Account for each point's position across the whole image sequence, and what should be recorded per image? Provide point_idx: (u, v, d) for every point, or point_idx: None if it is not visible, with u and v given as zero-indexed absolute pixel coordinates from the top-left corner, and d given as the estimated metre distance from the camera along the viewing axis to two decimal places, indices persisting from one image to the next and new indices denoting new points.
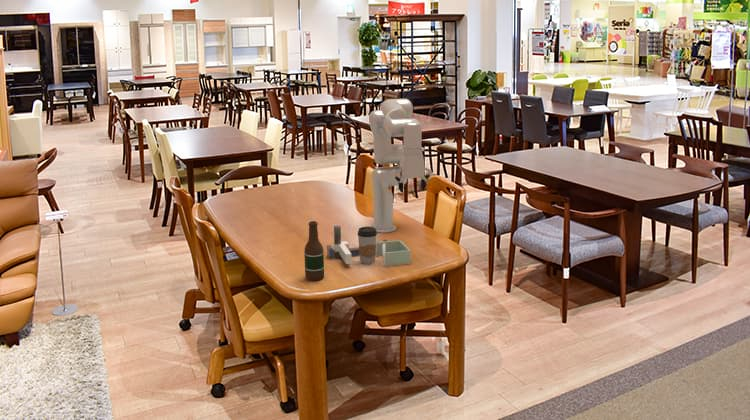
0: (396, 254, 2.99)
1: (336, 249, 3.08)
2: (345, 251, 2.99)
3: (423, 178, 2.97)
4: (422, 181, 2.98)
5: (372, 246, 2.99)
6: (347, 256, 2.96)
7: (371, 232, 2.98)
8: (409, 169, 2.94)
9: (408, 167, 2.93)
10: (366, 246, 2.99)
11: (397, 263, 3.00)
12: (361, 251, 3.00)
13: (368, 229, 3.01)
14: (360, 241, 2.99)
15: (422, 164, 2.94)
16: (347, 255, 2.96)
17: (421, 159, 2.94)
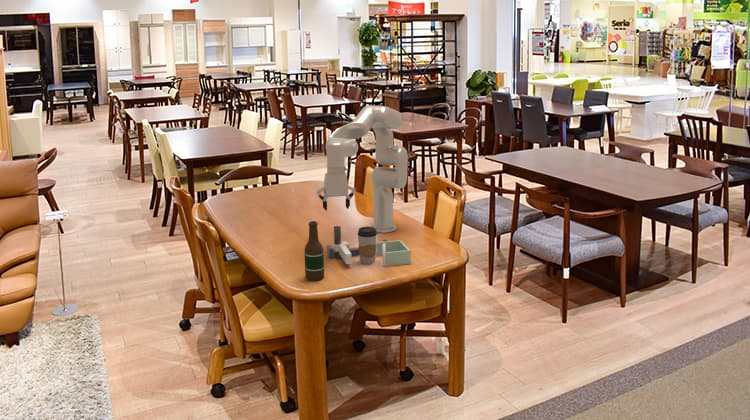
0: (396, 254, 2.99)
1: (336, 249, 3.08)
2: (345, 251, 2.99)
3: (347, 197, 3.03)
4: (346, 199, 3.04)
5: (372, 246, 2.99)
6: (347, 256, 2.96)
7: (371, 232, 2.98)
8: (332, 188, 2.99)
9: (331, 186, 2.99)
10: (366, 246, 2.99)
11: (397, 263, 3.00)
12: (361, 251, 3.00)
13: (368, 229, 3.01)
14: (360, 241, 2.99)
15: (345, 183, 3.00)
16: (347, 255, 2.96)
17: (344, 178, 3.00)
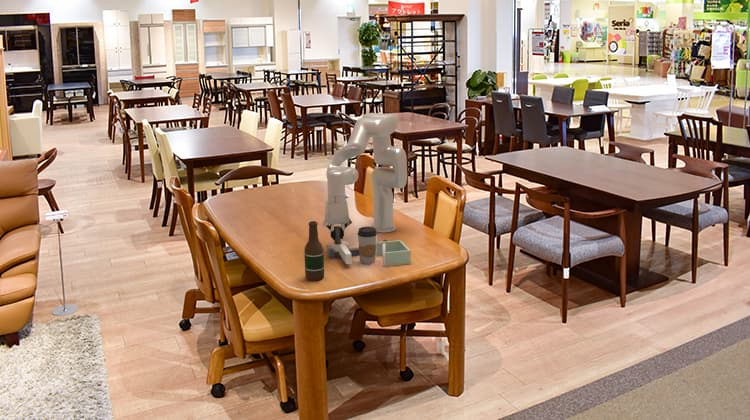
0: (396, 254, 2.99)
1: (336, 249, 3.08)
2: (345, 251, 2.99)
3: (342, 226, 3.06)
4: None
5: (372, 246, 2.99)
6: (347, 256, 2.96)
7: (371, 232, 2.98)
8: (333, 216, 3.03)
9: (332, 214, 3.02)
10: (366, 246, 2.99)
11: (397, 263, 3.00)
12: (361, 251, 3.00)
13: (368, 229, 3.01)
14: (360, 241, 2.99)
15: (346, 211, 3.04)
16: (347, 255, 2.96)
17: (344, 206, 3.03)
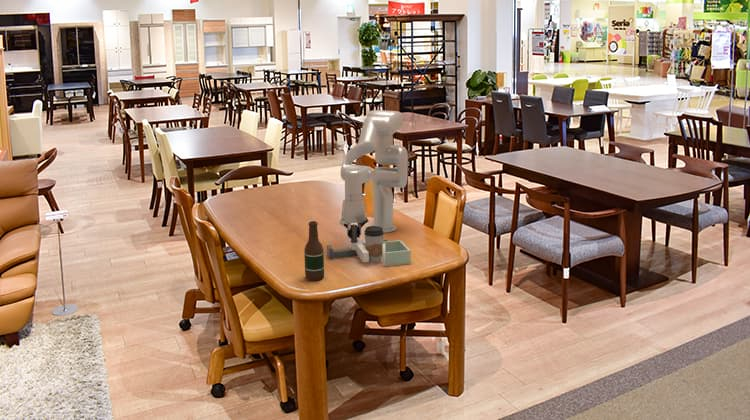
0: (396, 254, 2.99)
1: (353, 247, 3.10)
2: (362, 249, 3.01)
3: (359, 225, 3.08)
4: (357, 229, 3.09)
5: (378, 245, 3.00)
6: (364, 254, 2.98)
7: (378, 232, 2.98)
8: (350, 215, 3.05)
9: (349, 213, 3.04)
10: (373, 245, 2.99)
11: (397, 263, 3.00)
12: (368, 250, 3.01)
13: (375, 228, 3.02)
14: (367, 240, 3.00)
15: (362, 210, 3.06)
16: (364, 253, 2.98)
17: (361, 205, 3.05)
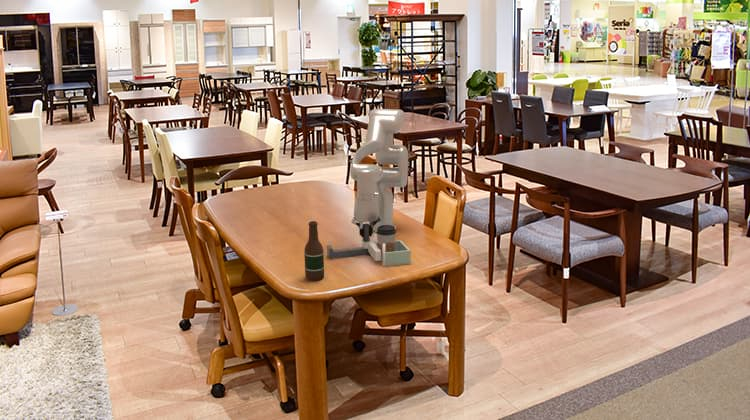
0: (396, 254, 2.99)
1: (365, 246, 3.11)
2: (375, 248, 3.02)
3: (371, 224, 3.10)
4: (369, 228, 3.11)
5: (391, 244, 3.01)
6: (377, 253, 2.99)
7: (391, 231, 3.00)
8: (362, 214, 3.06)
9: (361, 212, 3.06)
10: (385, 244, 3.01)
11: (397, 263, 3.00)
12: (380, 249, 3.03)
13: (387, 227, 3.03)
14: (379, 239, 3.01)
15: (375, 209, 3.07)
16: (377, 252, 2.99)
17: (373, 204, 3.06)
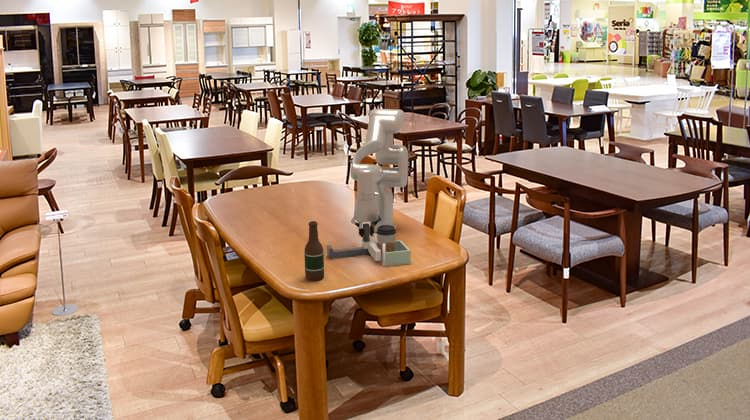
0: (396, 254, 2.99)
1: (365, 246, 3.11)
2: (375, 248, 3.02)
3: (372, 224, 3.10)
4: (370, 227, 3.11)
5: (391, 244, 3.01)
6: (377, 253, 2.99)
7: (391, 231, 3.00)
8: (362, 214, 3.06)
9: (362, 212, 3.06)
10: (385, 244, 3.01)
11: (397, 263, 3.00)
12: (380, 249, 3.03)
13: (387, 227, 3.03)
14: (379, 239, 3.01)
15: (375, 209, 3.07)
16: (377, 252, 2.99)
17: (374, 204, 3.06)
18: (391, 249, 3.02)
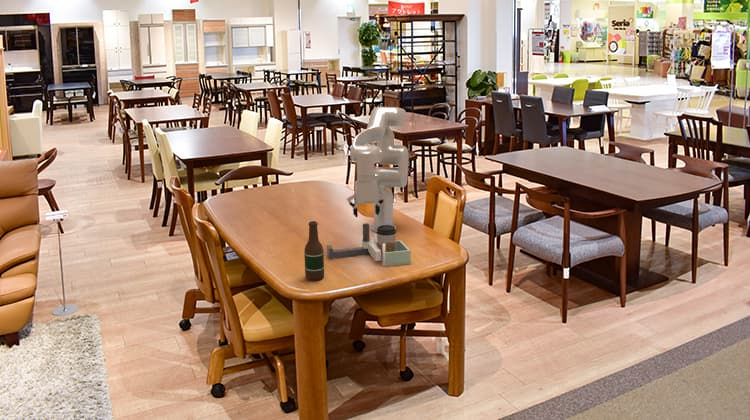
0: (396, 254, 2.99)
1: (365, 246, 3.11)
2: (375, 248, 3.02)
3: (377, 203, 3.08)
4: (376, 206, 3.09)
5: (391, 244, 3.01)
6: (377, 253, 2.99)
7: (391, 231, 3.00)
8: (362, 195, 3.04)
9: (362, 193, 3.04)
10: (385, 244, 3.01)
11: (397, 263, 3.00)
12: (380, 249, 3.03)
13: (387, 227, 3.03)
14: (379, 239, 3.01)
15: (375, 190, 3.05)
16: (377, 252, 2.99)
17: (374, 186, 3.04)
18: (391, 249, 3.02)
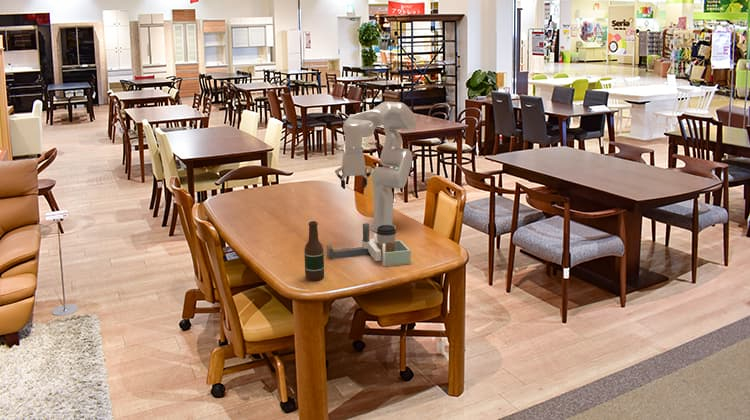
0: (396, 254, 2.99)
1: (365, 246, 3.11)
2: (375, 248, 3.02)
3: (364, 176, 3.14)
4: (363, 179, 3.16)
5: (391, 244, 3.01)
6: (377, 253, 2.99)
7: (391, 231, 3.00)
8: (350, 167, 3.11)
9: (349, 165, 3.10)
10: (385, 244, 3.01)
11: (397, 263, 3.00)
12: (380, 249, 3.03)
13: (387, 227, 3.03)
14: (379, 239, 3.01)
15: (362, 163, 3.12)
16: (377, 252, 2.99)
17: (361, 158, 3.11)
18: (391, 249, 3.02)
